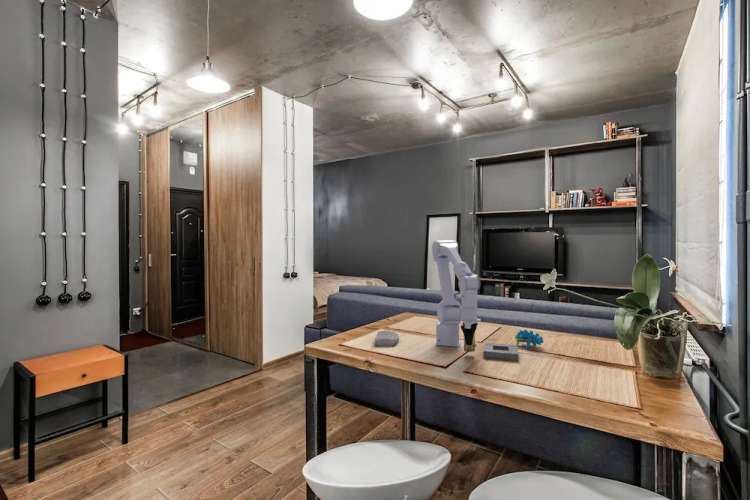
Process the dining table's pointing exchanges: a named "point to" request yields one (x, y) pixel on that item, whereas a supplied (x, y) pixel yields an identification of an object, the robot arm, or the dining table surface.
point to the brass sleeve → (470, 347)
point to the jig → (500, 351)
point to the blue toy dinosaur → (528, 338)
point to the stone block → (386, 338)
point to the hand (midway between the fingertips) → (469, 343)
